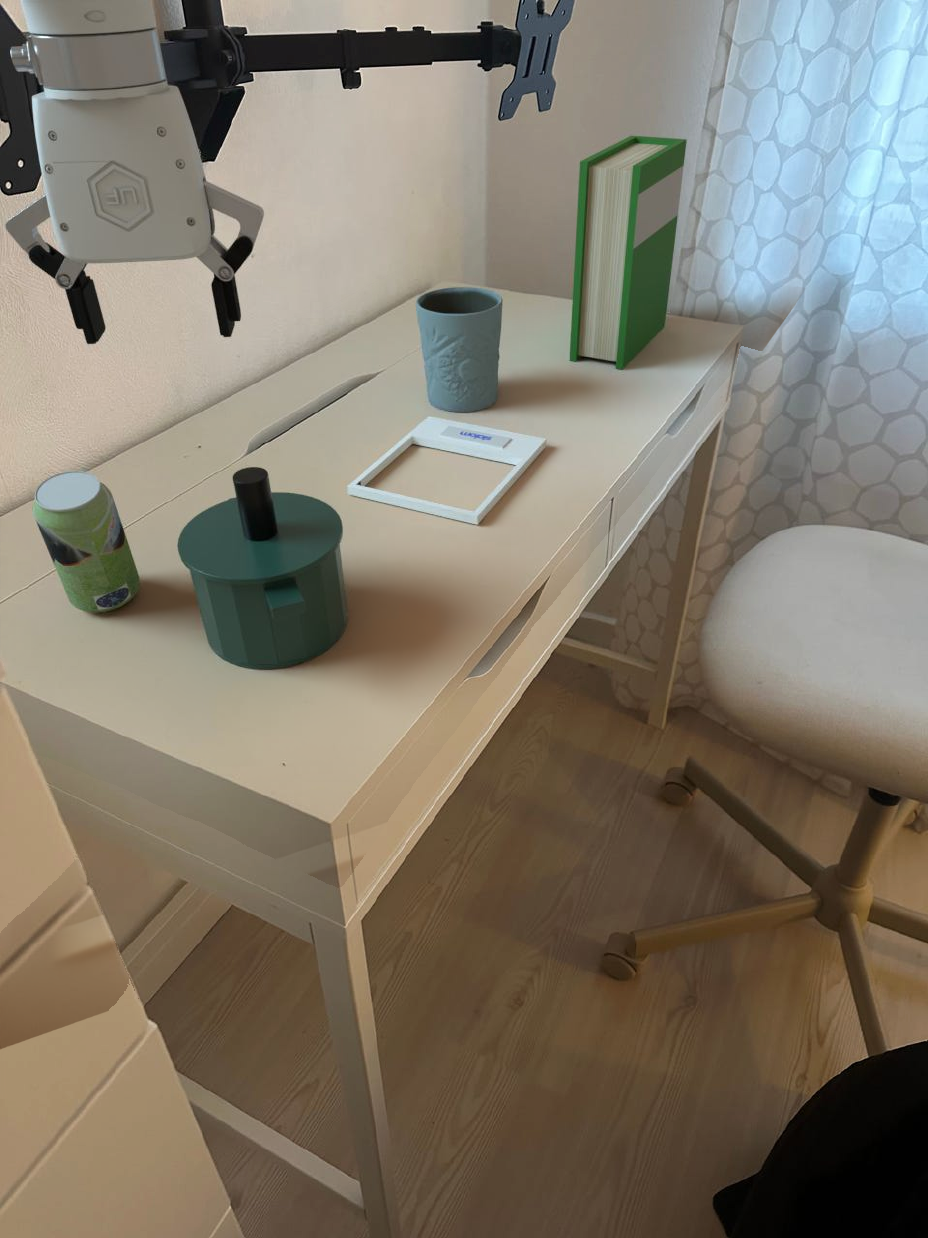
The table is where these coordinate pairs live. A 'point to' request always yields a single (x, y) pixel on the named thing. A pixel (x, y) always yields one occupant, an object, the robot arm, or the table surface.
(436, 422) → the photo frame
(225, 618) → the pot
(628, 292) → the hardback book
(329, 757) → the table surface
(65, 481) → the beverage can
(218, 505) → the lid
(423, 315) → the embossed blue cup
